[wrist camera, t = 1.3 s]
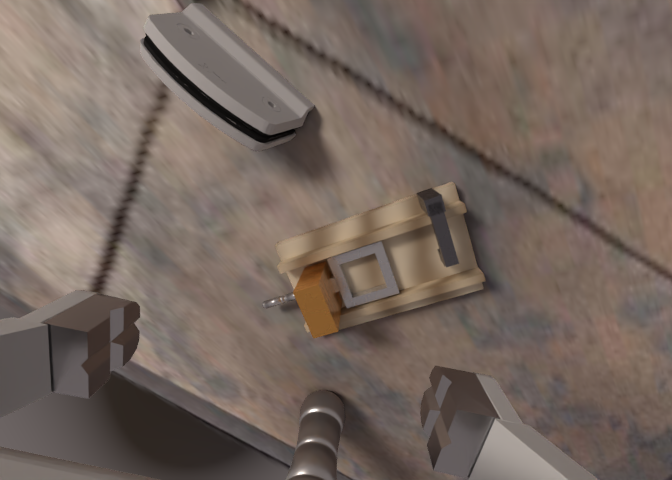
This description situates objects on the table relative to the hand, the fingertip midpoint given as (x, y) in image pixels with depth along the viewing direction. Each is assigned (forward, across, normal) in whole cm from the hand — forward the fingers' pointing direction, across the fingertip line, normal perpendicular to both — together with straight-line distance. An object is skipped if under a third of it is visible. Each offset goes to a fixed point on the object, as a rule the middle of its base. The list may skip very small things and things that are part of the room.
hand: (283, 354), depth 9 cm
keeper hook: (+30, -12, +1) cm, 32 cm away
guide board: (+32, -7, +8) cm, 34 cm away
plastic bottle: (+33, -4, +32) cm, 46 cm away
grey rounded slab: (+32, +14, -10) cm, 36 cm away
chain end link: (+31, -1, +12) cm, 33 cm away
